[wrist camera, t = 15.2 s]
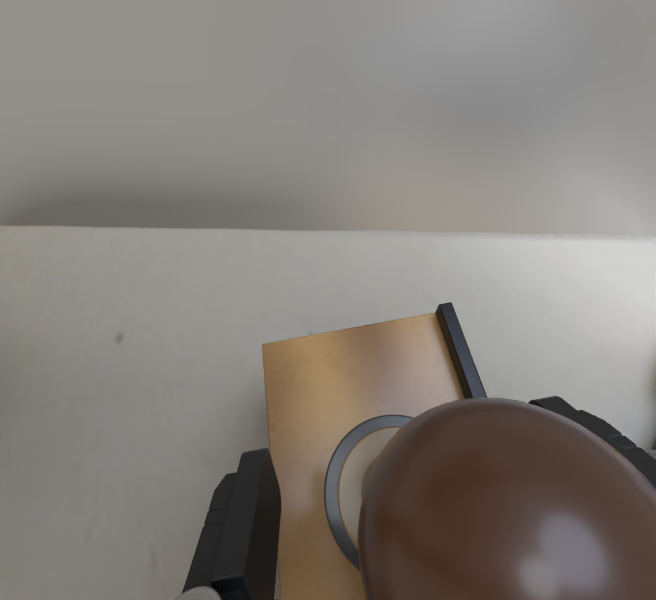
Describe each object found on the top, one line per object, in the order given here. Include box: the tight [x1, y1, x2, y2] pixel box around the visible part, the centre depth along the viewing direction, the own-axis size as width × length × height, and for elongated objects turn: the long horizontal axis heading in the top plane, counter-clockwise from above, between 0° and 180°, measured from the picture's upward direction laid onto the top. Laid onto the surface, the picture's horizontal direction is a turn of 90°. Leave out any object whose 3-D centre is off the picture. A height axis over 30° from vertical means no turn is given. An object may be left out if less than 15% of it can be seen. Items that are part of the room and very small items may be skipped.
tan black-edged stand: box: [262, 302, 487, 600], centre depth 22 cm, size 12×18×12 cm, turn 10°
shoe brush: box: [324, 398, 656, 600], centre depth 10 cm, size 6×6×17 cm
